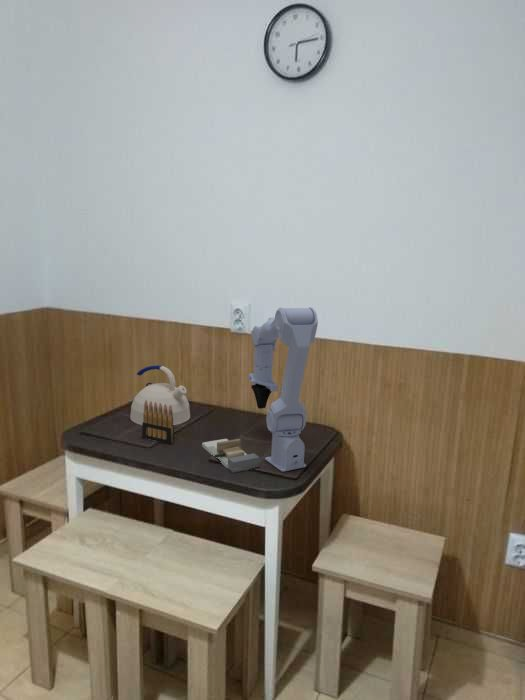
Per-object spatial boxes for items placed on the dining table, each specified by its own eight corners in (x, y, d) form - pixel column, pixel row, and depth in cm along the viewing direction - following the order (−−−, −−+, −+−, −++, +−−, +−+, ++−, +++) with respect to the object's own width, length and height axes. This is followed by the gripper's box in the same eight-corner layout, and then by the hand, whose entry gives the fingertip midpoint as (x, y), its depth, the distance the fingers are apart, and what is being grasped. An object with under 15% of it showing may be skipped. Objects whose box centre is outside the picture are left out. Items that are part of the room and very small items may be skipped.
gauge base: (259, 467, 146) (259, 457, 146) (232, 473, 142) (233, 462, 142) (226, 442, 163) (226, 432, 162) (202, 446, 159) (202, 437, 159)
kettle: (165, 432, 170) (165, 376, 166) (116, 419, 180) (115, 366, 176) (203, 415, 187) (203, 364, 183) (157, 404, 197) (157, 356, 193)
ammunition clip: (141, 438, 164) (141, 400, 161) (145, 436, 166) (145, 398, 163) (171, 444, 160) (171, 406, 157) (174, 442, 161) (174, 404, 159)
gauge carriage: (247, 454, 151) (247, 444, 150) (218, 460, 146) (218, 450, 145) (238, 448, 155) (239, 438, 154) (210, 453, 150) (210, 443, 150)
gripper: (240, 361, 168) (239, 402, 171) (263, 372, 156) (262, 416, 159) (259, 359, 172) (258, 400, 175) (284, 369, 160) (282, 413, 163)
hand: (261, 407), depth 167 cm, fingers closed
